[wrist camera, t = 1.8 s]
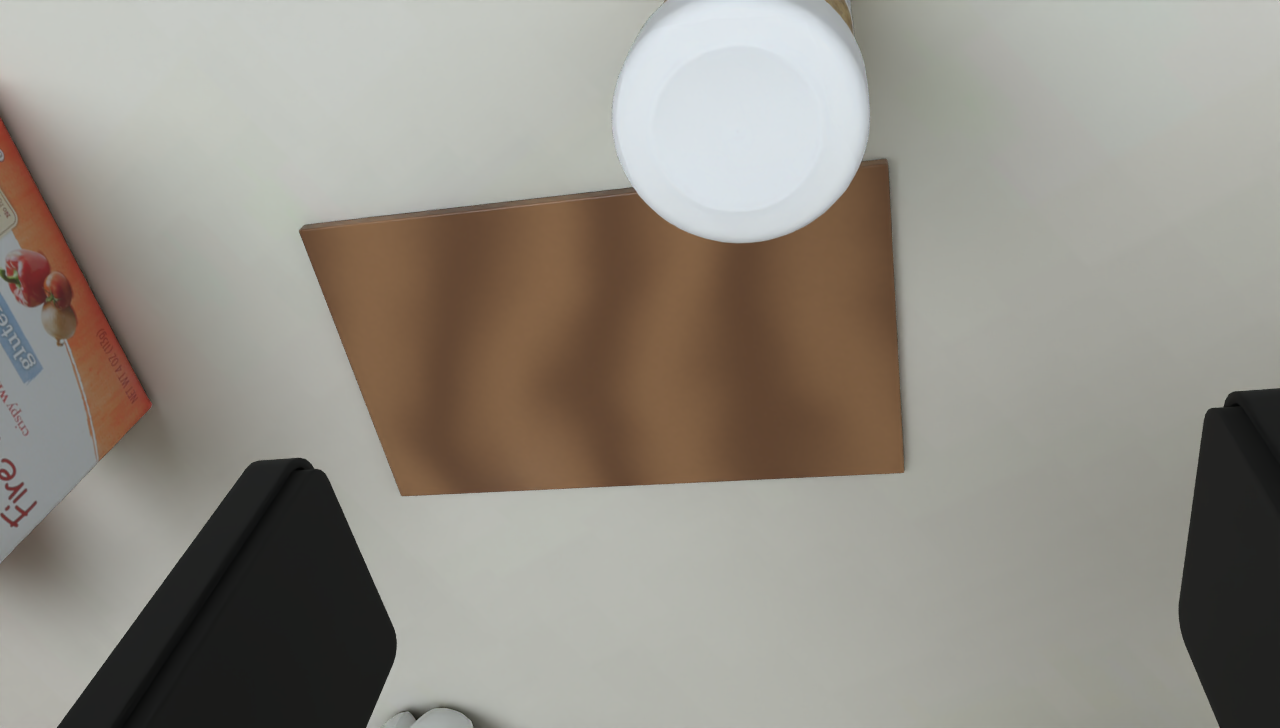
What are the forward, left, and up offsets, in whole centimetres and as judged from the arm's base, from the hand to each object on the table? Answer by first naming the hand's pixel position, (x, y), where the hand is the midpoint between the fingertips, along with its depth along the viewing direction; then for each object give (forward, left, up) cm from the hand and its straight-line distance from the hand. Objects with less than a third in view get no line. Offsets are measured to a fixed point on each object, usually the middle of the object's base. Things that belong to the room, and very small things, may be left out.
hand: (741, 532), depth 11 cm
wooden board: (+7, +10, -22) cm, 25 cm away
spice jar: (0, -2, -22) cm, 22 cm away
